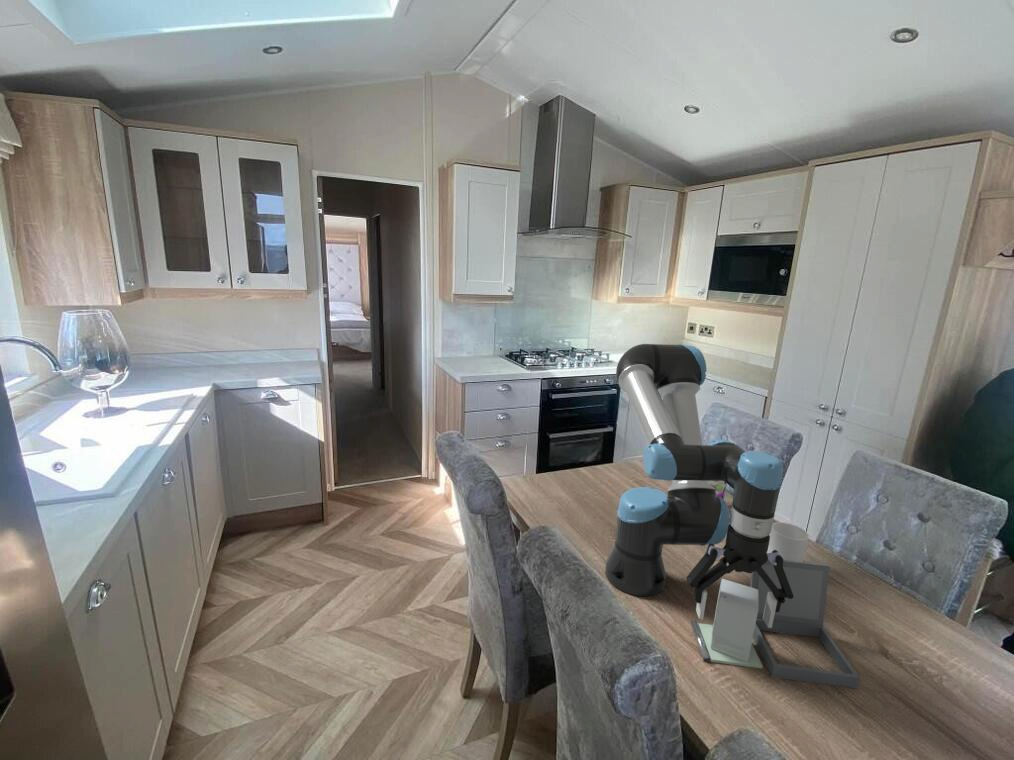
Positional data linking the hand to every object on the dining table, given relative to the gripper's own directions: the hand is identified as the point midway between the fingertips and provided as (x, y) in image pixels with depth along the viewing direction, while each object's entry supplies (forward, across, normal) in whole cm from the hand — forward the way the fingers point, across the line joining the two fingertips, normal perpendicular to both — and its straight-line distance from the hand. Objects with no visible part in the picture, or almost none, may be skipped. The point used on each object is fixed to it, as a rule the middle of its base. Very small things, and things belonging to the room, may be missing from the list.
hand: (732, 619), depth 98 cm
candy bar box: (+7, +12, +63) cm, 64 cm away
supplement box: (+6, 0, 0) cm, 6 cm away
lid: (-2, +14, +8) cm, 16 cm away
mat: (+7, 0, 0) cm, 7 cm away
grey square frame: (+7, +14, 0) cm, 16 cm away
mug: (+7, +26, +33) cm, 43 cm away
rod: (+7, -6, 0) cm, 9 cm away
